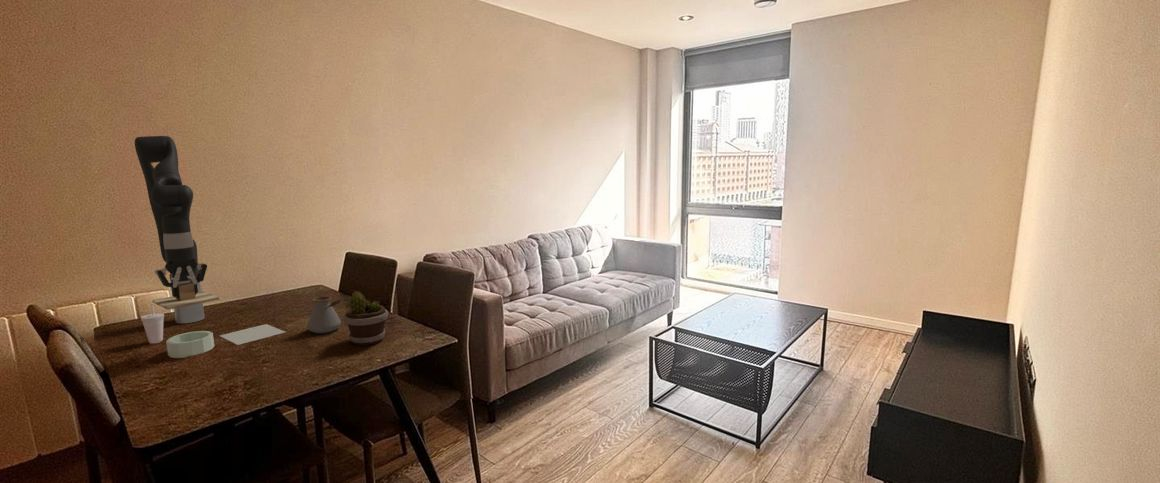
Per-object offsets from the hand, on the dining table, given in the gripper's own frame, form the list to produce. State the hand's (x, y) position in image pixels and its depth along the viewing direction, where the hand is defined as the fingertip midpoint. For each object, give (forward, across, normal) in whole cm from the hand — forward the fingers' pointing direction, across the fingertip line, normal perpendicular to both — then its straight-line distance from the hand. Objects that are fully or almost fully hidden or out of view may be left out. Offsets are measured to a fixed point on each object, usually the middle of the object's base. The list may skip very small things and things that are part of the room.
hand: (185, 296), depth 164 cm
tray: (+19, -19, 0) cm, 27 cm away
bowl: (+19, 0, 0) cm, 19 cm away
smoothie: (+19, +4, -21) cm, 29 cm away
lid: (+2, 0, 0) cm, 2 cm away
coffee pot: (+19, -36, +22) cm, 46 cm away
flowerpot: (+19, -40, +40) cm, 60 cm away
